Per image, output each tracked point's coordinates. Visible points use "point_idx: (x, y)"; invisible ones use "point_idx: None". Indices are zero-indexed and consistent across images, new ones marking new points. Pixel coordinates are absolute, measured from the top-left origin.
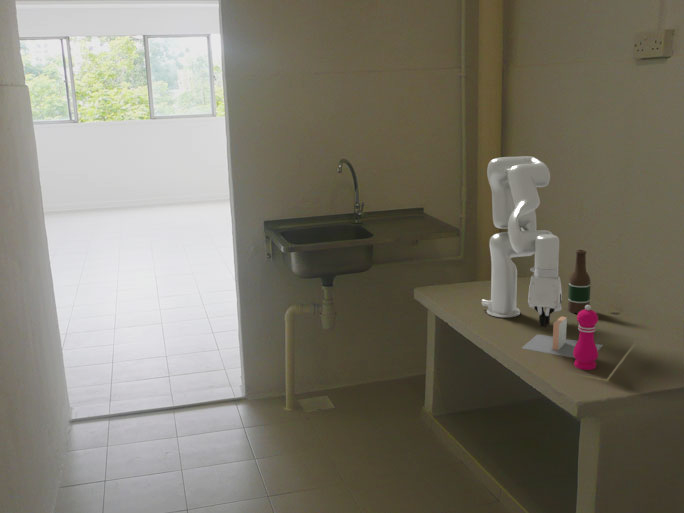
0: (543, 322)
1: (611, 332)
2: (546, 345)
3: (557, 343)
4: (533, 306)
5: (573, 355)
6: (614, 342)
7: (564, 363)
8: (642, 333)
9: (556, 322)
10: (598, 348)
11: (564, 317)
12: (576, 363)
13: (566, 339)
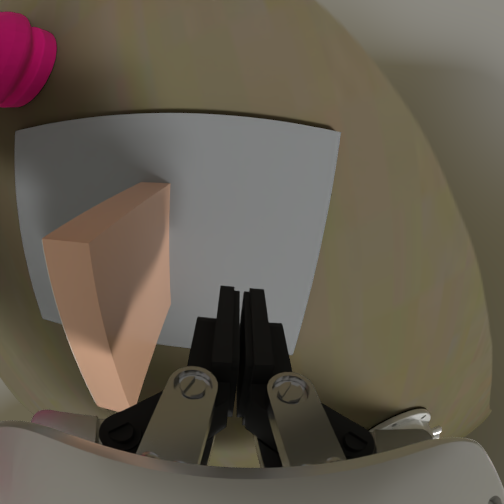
0: (236, 312)
1: (98, 414)
2: (216, 230)
3: (129, 189)
4: (385, 448)
5: (29, 25)
6: (49, 356)
7: (91, 53)
8: (54, 410)
9: (76, 275)
10: (34, 281)
11: (105, 402)
12: (38, 30)
13: (159, 339)
